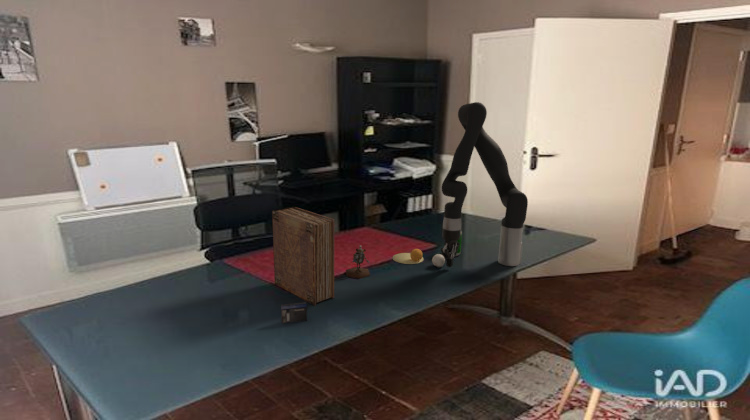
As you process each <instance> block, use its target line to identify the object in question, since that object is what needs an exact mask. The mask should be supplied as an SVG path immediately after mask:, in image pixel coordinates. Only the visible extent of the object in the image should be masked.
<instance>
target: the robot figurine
mask: <svg viewBox="0 0 750 420" xmlns="http://www.w3.org/2000/svg"><path fill="white" fill-rule="evenodd" d="M365 252H366V249H363V248H362V245H359V247H358V248H355V252H354V253H353V254H352V255H353V258H352V260H351V261H352V263H355V264H356V267H351V268H347V269H345V274H346V277H348V278H352V279H357V280H358V279H359V280H360V279H363V278H367V277H370V276H371V273H370V271H369V269H368V268H365V267H364V268H363V267H361V264H363V263H364V261H366V262H367V264H370V262H371V261H370V260H368V259H367V258H366V253H365Z"/></svg>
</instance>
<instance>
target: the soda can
mask: <svg viewBox="0 0 750 420" xmlns="http://www.w3.org/2000/svg"><path fill="white" fill-rule="evenodd" d="M462 239H463V231H462V230H461V235H460V239H459V240H457V242H458V243H460V245H459V248H458V251H457V253H456V256H455V255H454V257H458V256H459V255H460V254H461V252H462V242H463V241H462Z"/></svg>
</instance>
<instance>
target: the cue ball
mask: <svg viewBox="0 0 750 420" xmlns="http://www.w3.org/2000/svg"><path fill="white" fill-rule="evenodd" d="M431 262H432V264H433V266H435V267H437V268H441V267H443V266H444V264H445V263H446V258H444V256H443V254H442V253H441V254H440V253H436V254H435V255H433V256H432V259H431Z"/></svg>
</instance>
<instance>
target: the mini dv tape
mask: <svg viewBox="0 0 750 420" xmlns="http://www.w3.org/2000/svg"><path fill="white" fill-rule="evenodd" d="M307 305H308V304H307V302H306V301H304V302H296V303H295V302H294V303H284V304H281V305H280V313H281V314H280V317H281V319H280V321H281V324H288V323H290V324H291V323H297V322H307V321H308V306H307Z"/></svg>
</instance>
